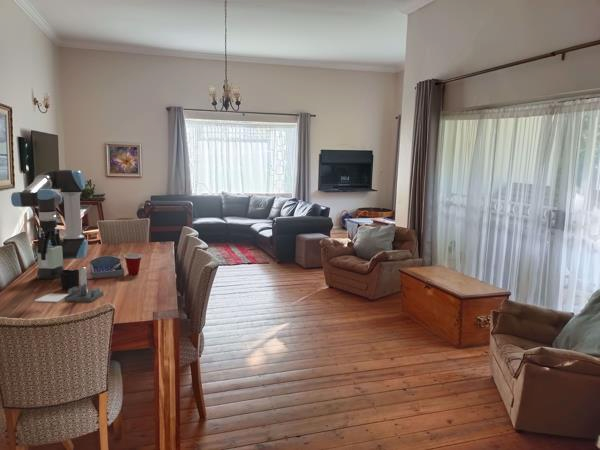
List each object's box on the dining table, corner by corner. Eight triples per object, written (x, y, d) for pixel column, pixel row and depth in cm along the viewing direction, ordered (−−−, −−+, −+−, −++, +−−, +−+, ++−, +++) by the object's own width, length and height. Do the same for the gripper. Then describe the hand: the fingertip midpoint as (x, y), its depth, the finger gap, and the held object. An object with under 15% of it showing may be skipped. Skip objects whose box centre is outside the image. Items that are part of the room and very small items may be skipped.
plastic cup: (136, 276, 271) (136, 257, 269) (121, 275, 273) (120, 256, 271) (146, 272, 281) (145, 253, 280) (131, 271, 283) (130, 253, 282)
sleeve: (38, 268, 220) (36, 248, 219) (48, 264, 228) (47, 245, 227) (53, 268, 219) (52, 248, 218) (63, 265, 227) (62, 246, 226)
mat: (34, 301, 221) (34, 300, 221) (49, 294, 233) (49, 293, 233) (57, 302, 220) (57, 301, 220) (71, 295, 232) (71, 294, 232)
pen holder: (67, 291, 238) (65, 273, 236) (57, 289, 243) (56, 271, 241) (83, 287, 246) (82, 270, 244) (73, 285, 251) (72, 268, 249)
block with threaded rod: (64, 300, 223) (62, 270, 220) (78, 293, 235) (76, 264, 232) (90, 301, 222) (89, 271, 219) (103, 294, 233) (101, 265, 231)
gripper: (41, 222, 210) (44, 269, 213) (67, 217, 230) (70, 260, 233) (26, 222, 210) (29, 268, 213) (54, 217, 231) (56, 259, 234)
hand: (50, 264), depth 223 cm, fingers closed on sleeve, 8 cm apart
